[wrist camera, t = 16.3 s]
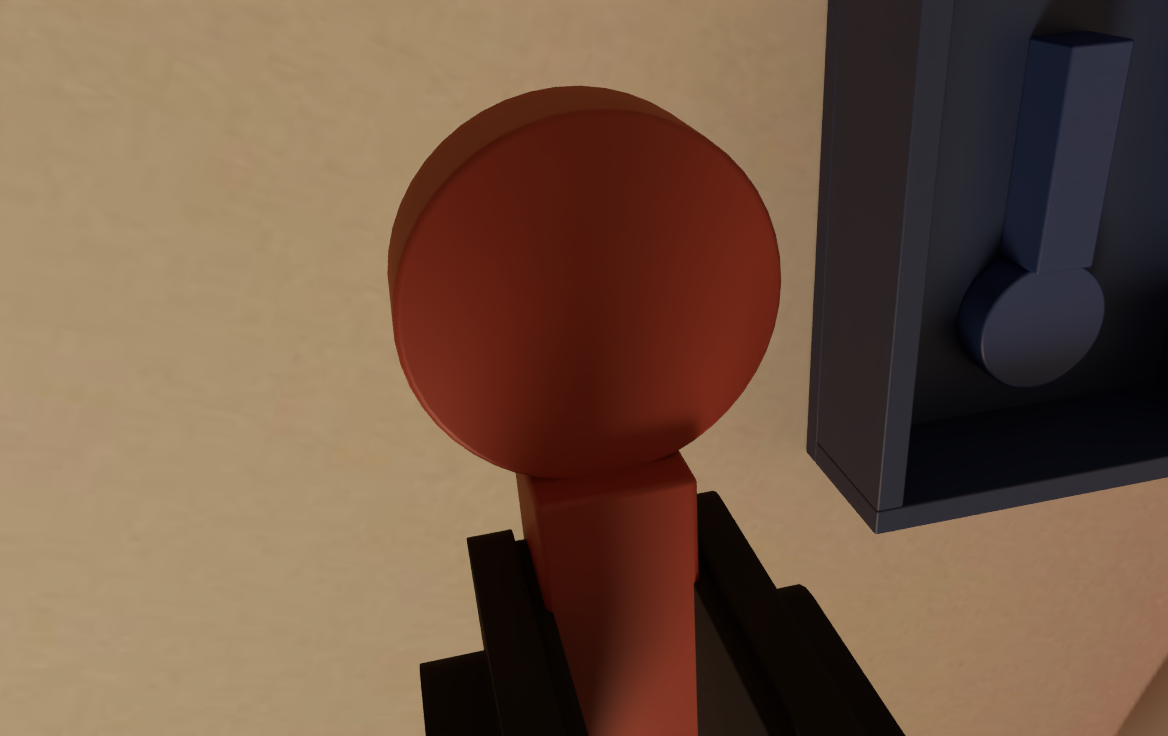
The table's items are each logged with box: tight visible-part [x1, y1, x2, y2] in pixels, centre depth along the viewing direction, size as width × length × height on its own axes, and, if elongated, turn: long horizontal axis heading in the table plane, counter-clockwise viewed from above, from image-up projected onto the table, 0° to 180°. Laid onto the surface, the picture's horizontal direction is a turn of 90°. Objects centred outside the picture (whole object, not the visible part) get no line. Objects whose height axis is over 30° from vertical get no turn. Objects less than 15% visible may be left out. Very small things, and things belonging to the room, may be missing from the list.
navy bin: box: [807, 0, 1168, 534], centre depth 24 cm, size 13×11×4 cm
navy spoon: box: [957, 31, 1134, 388], centre depth 24 cm, size 9×4×2 cm, turn 3°
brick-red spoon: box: [388, 86, 781, 736], centre depth 10 cm, size 9×4×2 cm, turn 4°
